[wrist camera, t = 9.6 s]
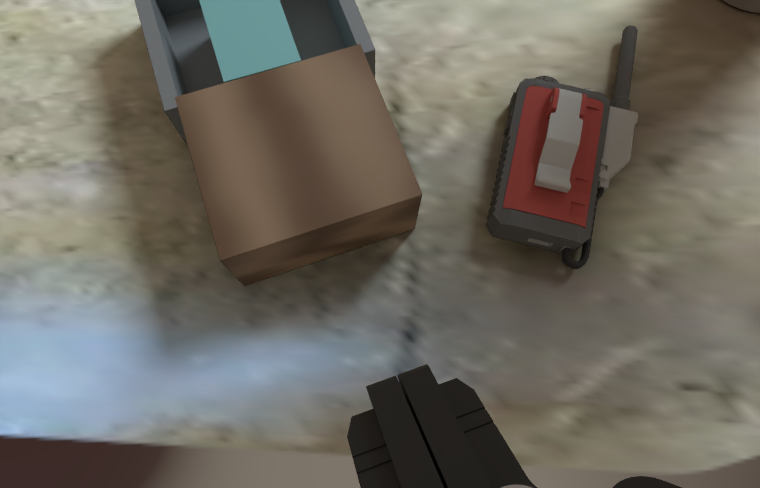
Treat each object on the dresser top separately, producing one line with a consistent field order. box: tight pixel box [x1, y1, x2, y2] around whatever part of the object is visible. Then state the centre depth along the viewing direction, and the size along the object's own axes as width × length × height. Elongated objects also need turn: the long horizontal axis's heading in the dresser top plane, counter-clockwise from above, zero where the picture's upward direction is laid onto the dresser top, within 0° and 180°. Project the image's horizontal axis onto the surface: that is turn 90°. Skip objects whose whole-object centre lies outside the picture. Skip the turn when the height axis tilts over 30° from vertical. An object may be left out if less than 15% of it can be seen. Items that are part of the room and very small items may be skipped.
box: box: [135, 0, 375, 145], centre depth 39 cm, size 14×12×5 cm
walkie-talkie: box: [486, 26, 638, 269], centre depth 38 cm, size 9×4×20 cm
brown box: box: [175, 44, 422, 286], centre depth 35 cm, size 12×11×6 cm
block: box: [199, 0, 301, 83], centre depth 38 cm, size 5×5×8 cm
